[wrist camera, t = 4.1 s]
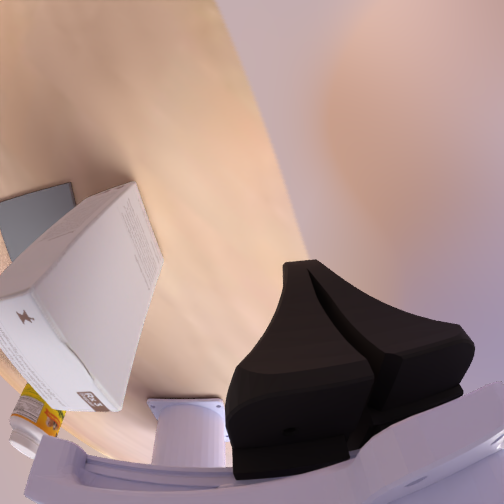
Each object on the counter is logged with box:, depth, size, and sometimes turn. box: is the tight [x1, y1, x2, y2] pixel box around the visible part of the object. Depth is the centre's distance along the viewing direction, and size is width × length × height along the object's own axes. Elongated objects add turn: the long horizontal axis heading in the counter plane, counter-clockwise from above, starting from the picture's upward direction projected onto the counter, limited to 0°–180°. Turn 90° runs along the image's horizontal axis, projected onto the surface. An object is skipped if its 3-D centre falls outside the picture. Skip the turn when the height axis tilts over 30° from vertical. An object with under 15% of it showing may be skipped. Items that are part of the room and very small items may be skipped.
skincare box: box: [0, 181, 164, 412], centre depth 13 cm, size 6×4×12 cm
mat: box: [0, 182, 76, 262], centre depth 18 cm, size 9×8×1 cm
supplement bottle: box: [9, 382, 66, 459], centre depth 21 cm, size 6×6×10 cm
